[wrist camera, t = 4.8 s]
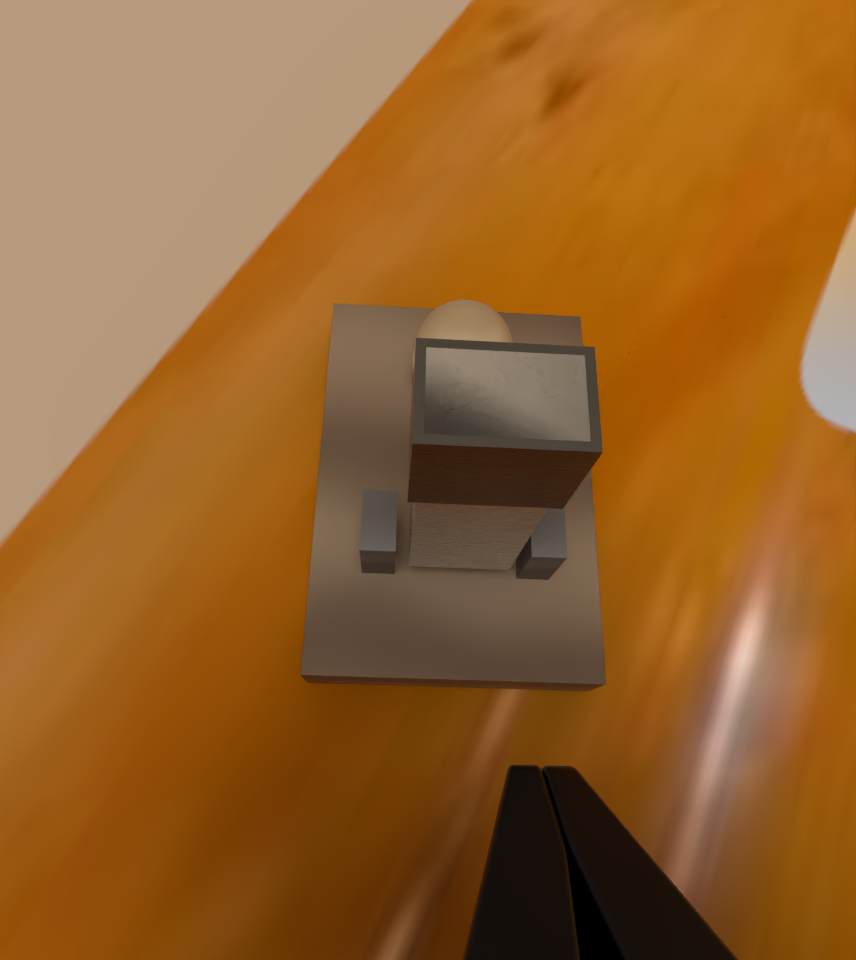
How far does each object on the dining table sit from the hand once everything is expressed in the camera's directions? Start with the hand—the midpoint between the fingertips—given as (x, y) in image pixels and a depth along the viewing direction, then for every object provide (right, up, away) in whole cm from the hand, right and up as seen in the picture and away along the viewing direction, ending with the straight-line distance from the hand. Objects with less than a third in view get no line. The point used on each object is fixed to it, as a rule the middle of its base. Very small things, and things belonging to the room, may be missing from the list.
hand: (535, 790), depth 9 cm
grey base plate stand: (0, +3, +16) cm, 16 cm away
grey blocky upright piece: (0, +2, +12) cm, 12 cm away
